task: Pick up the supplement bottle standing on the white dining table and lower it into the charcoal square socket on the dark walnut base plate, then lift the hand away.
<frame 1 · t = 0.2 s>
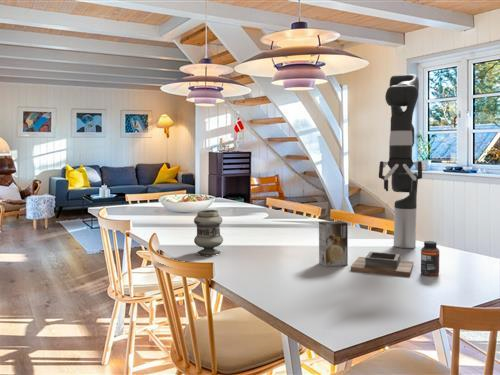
hand: (399, 191, 159), 29 cm above the table, fingers open, 8 cm apart
supplement bottle: (429, 274, 158), on the table
socket plate: (382, 268, 166), on the table
coffee box: (333, 264, 173), on the table
apothecary jar: (208, 254, 191), on the table
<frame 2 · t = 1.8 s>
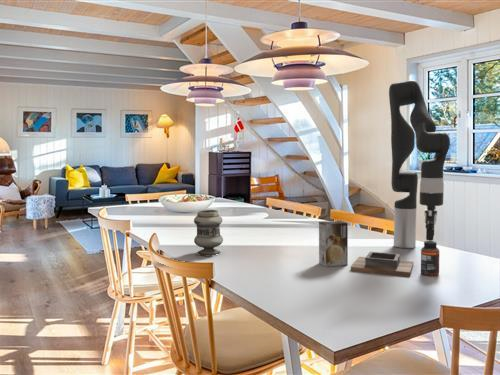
hand: (430, 238, 157), 13 cm above the table, fingers open, 8 cm apart
nothing on the table moved.
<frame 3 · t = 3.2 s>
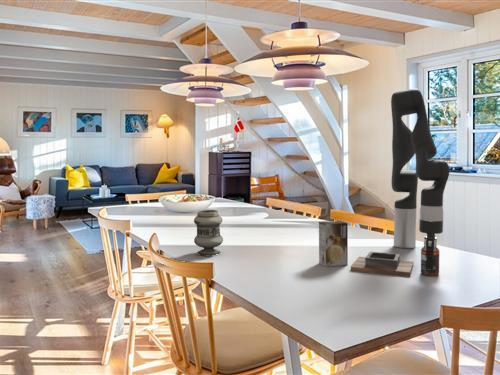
hand: (429, 266, 158), 3 cm above the table, fingers closed on supplement bottle, 6 cm apart
supplement bottle: (429, 274, 158), on the table, touching gripper
everything else where it was.
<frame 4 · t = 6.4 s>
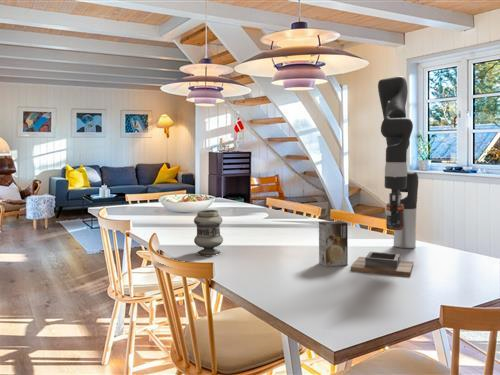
hand: (394, 221, 163), 17 cm above the table, fingers closed on supplement bottle, 6 cm apart
supplement bottle: (394, 229, 163), point 14 cm above the table, touching gripper
everything else where it was.
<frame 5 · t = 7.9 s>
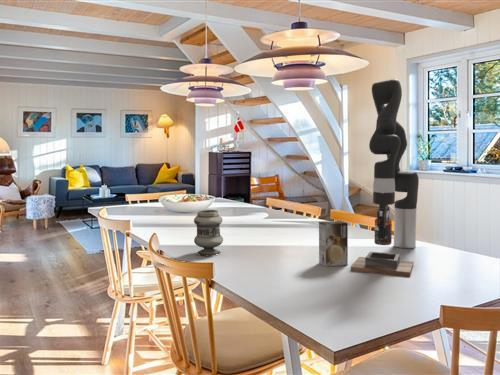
hand: (382, 236, 165), 12 cm above the table, fingers closed on supplement bottle, 6 cm apart
supplement bottle: (382, 244, 166), point 9 cm above the table, touching gripper
everything else where it was.
when the fingers open (6 cm above the table, at t = 9.4 s): supplement bottle drops 2 cm, resting on socket plate.
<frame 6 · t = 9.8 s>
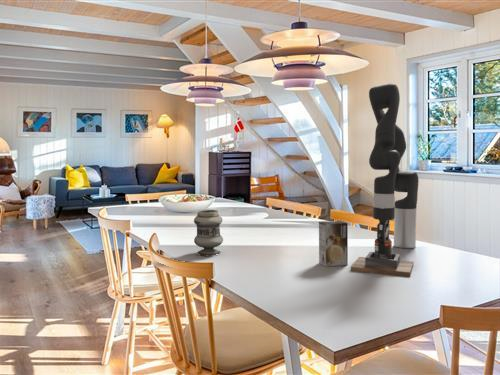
hand: (383, 250, 166), 7 cm above the table, fingers open, 8 cm apart
supplement bottle: (382, 264, 166), point 1 cm above the table, touching socket plate
everything else where it was.
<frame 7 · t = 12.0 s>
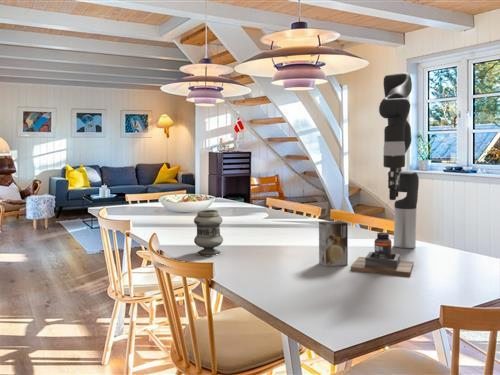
hand: (393, 198, 168), 25 cm above the table, fingers open, 8 cm apart
nothing on the table moved.
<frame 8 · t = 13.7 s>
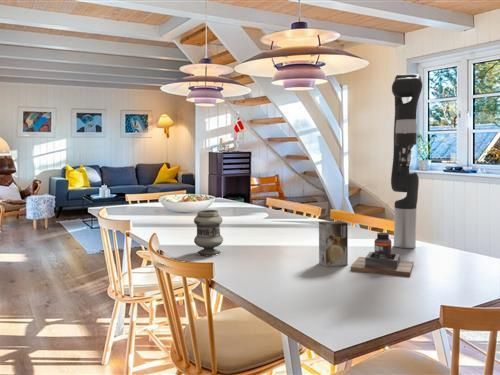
hand: (405, 175, 172), 33 cm above the table, fingers open, 8 cm apart
nothing on the table moved.
at the end: supplement bottle 0.1 cm off-centre on the socket plate, point 1.3 cm above the socket plate's base; supplement bottle tilted 0°; the gripper is holding nothing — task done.
